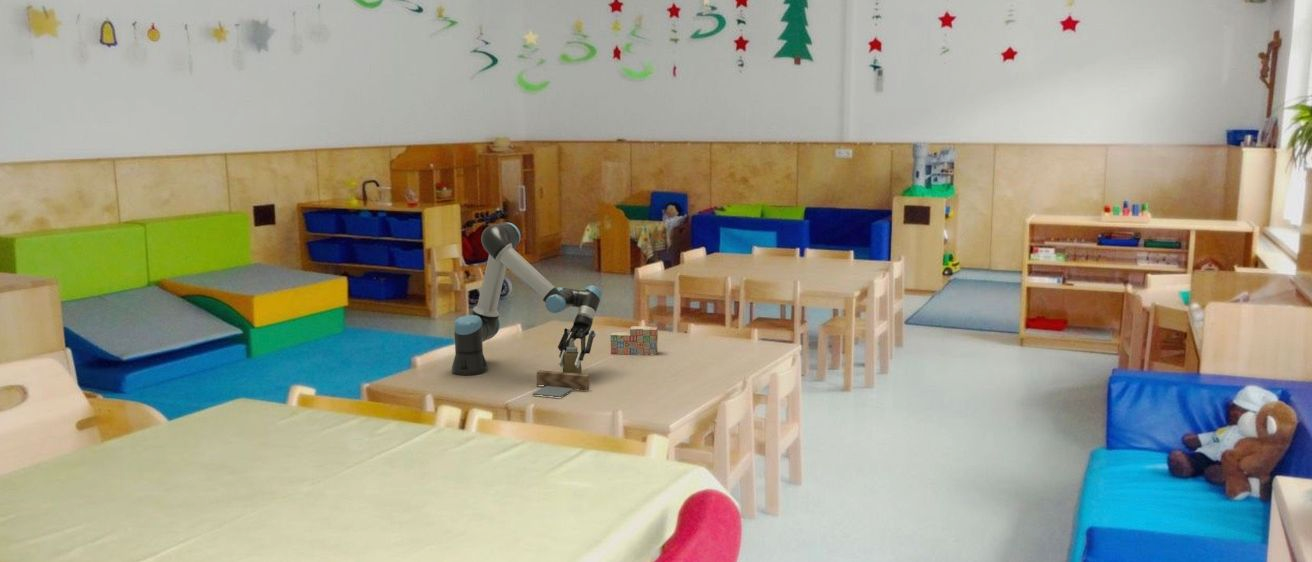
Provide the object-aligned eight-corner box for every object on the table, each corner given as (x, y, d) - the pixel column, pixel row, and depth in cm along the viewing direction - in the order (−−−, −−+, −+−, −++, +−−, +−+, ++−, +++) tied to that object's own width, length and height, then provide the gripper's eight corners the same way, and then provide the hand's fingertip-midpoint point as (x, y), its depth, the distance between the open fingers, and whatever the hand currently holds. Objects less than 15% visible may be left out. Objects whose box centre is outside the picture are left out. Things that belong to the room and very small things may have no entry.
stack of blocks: (610, 354, 451) (610, 328, 449) (612, 351, 457) (612, 325, 455) (656, 355, 448) (656, 329, 446) (657, 352, 455) (657, 326, 453)
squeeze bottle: (573, 384, 397) (572, 341, 394) (558, 381, 402) (557, 339, 399) (586, 380, 404) (585, 338, 401) (571, 377, 409) (570, 335, 406)
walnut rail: (589, 389, 392) (589, 374, 391) (586, 391, 389) (586, 376, 388) (540, 384, 400) (539, 370, 399) (536, 386, 397) (536, 371, 396)
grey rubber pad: (560, 398, 379) (560, 396, 379) (532, 396, 383) (532, 393, 383) (573, 390, 390) (573, 388, 390) (546, 388, 394) (546, 385, 394)
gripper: (608, 325, 410) (592, 372, 398) (566, 322, 417) (549, 368, 405) (603, 315, 405) (587, 363, 392) (560, 312, 411) (543, 358, 399)
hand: (568, 365), depth 398 cm, fingers closed on squeeze bottle, 6 cm apart
